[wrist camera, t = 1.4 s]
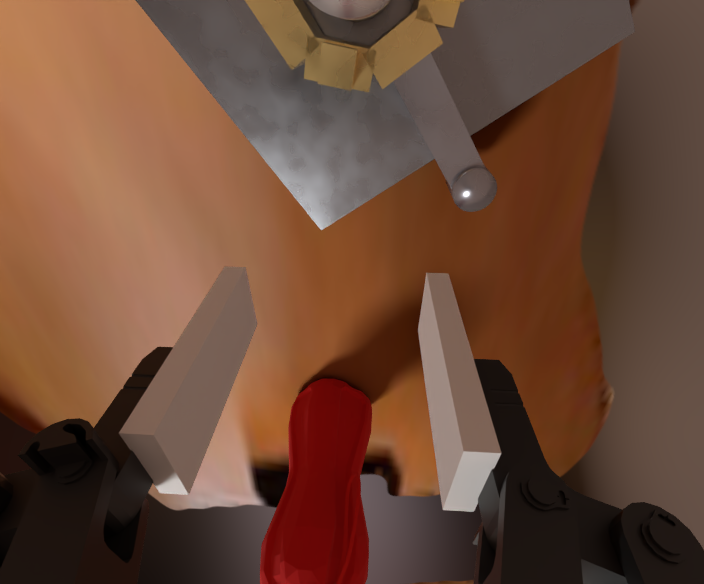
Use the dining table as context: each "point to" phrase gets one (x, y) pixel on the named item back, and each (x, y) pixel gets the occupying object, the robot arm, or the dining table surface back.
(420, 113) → the ring nut
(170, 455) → the robot arm
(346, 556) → the water bottle
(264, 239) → the dining table surface
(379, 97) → the housing
